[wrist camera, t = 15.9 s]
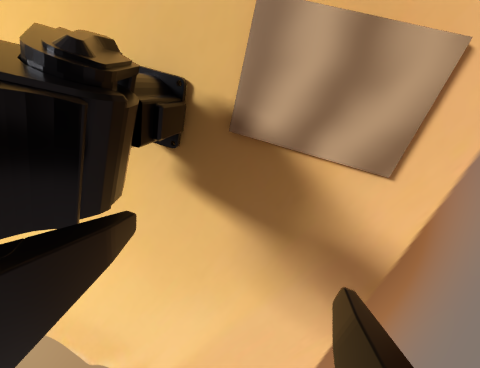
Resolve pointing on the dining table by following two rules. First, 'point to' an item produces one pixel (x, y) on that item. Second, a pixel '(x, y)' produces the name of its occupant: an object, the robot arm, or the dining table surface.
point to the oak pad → (340, 82)
